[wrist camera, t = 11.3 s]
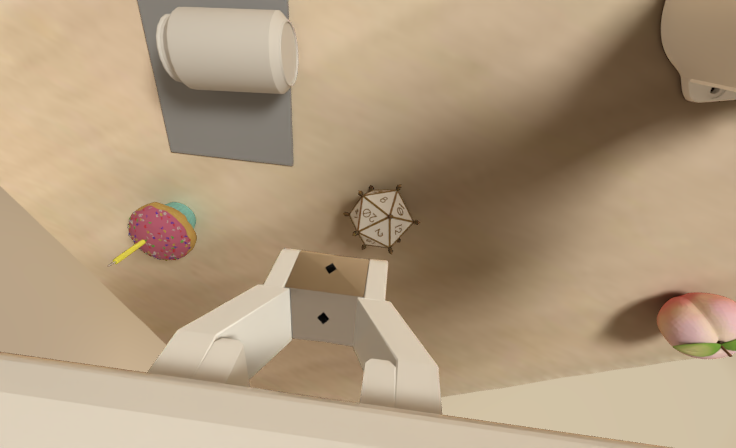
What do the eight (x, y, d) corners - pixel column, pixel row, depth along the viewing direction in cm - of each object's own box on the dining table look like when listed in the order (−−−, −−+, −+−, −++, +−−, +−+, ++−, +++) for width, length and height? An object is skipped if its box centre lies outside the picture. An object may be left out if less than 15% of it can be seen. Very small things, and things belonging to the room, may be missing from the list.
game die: (371, 195, 51) (318, 223, 45) (399, 158, 45) (341, 184, 38) (410, 243, 50) (361, 279, 43) (445, 212, 43) (393, 249, 37)
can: (275, 3, 30) (141, -2, 31) (280, 96, 33) (157, 90, 34) (299, 16, 37) (188, 12, 38) (301, 92, 40) (198, 87, 41)
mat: (287, -24, 35) (286, -24, 35) (293, 165, 46) (292, 165, 45) (130, -39, 36) (128, -40, 35) (172, 150, 46) (171, 151, 46)
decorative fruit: (647, 327, 54) (691, 386, 46) (635, 291, 51) (680, 348, 43) (719, 307, 51) (781, 367, 43) (712, 267, 48) (777, 324, 39)
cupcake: (161, 238, 54) (104, 292, 44) (142, 188, 50) (74, 235, 39) (215, 241, 53) (170, 296, 43) (201, 190, 49) (147, 239, 39)
